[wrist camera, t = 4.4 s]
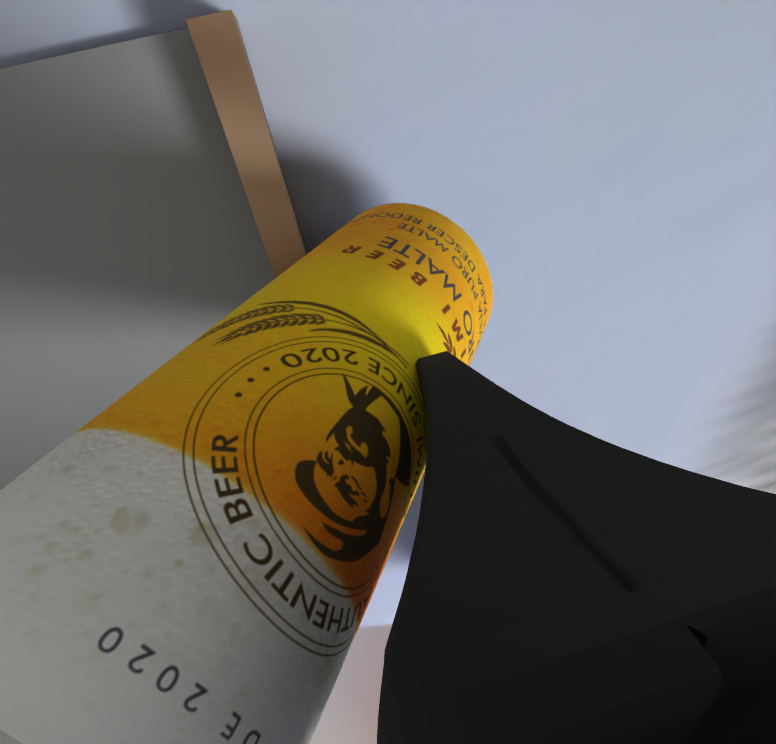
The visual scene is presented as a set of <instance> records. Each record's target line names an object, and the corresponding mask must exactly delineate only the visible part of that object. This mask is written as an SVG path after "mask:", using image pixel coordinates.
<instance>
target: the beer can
mask: <svg viewBox="0 0 776 744" xmlns="http://www.w3.org/2000/svg"><path fill="white" fill-rule="evenodd" d="M492 303H493V287H492V280H491V276H490V272H489V269H488V266H487V264H486V261H485V259H484V257H483V255H482V253H481V252H480V250H479V248H478V247H477V245H476V244H475V243H474V241H473V240H472V239H471V238H470V237H469V235H468V234H467V233H466V232H465V231H464V230H463V229H462V228H460V227H459V226H458V225H457V224H456V223H454V222H453V221H451V220H450V219H449V218H447V217H445V216H444V215H442V214H440V213H438V212H436V211H433V210H431V209H428V208H426V207H422V206H418V205H414V204H406V203H391V204H384V205H380V206H376V207H373V208H370V209H368V210H366V211H364V212H362V213H361V214H359V215H357V216H356V217H355V218H353V219H352V220H351V221H349V222H348V223H347V224H346V225H344V226H343V227H342V228H340V229H339V230H338V231H336V232H335V233H334V234H333V235H331V236H330V237H329V238H327V239H326V240H325V241H323V242H322V243H321V244H320V245H318V246H317V247H316V248H314V249H313V250H312V251H310V252H309V253H308V254H307V255H305V256H304V257H303V258H301V259H300V260H299V261H297V262H296V263H295V264H294V265H292V266H291V267H290V268H288V269H287V270H286V271H284V272H283V273H282V274H281V275H279V276H278V277H277V278H275V279H274V280H273V281H271V282H270V283H269V284H268V285H266V286H265V287H264V288H262V289H261V290H260V291H258V292H257V293H256V294H255V295H253V296H252V297H251V298H249V299H248V300H247V301H245V302H244V303H243V304H242V305H240V306H239V307H238V308H236V309H235V310H234V311H232V312H231V313H230V314H229V315H227V316H226V317H225V318H223V319H222V320H221V321H219V322H218V323H217V324H216V325H214V326H213V327H212V328H210V329H209V330H208V331H206V332H205V333H204V334H203V335H201V336H200V337H199V338H197V339H196V340H195V341H193V342H192V343H191V344H190V345H188V346H187V347H186V348H184V349H183V350H182V351H180V352H179V353H178V354H177V355H175V356H174V357H173V358H171V359H170V360H169V361H167V362H166V363H165V364H164V365H162V366H161V367H160V368H158V369H157V370H156V371H154V372H153V373H152V374H151V375H149V376H148V377H147V378H145V379H144V380H143V381H141V382H140V383H139V384H138V385H136V386H135V387H134V388H132V389H131V390H130V391H128V392H127V393H126V394H125V395H123V396H122V397H121V398H119V399H118V400H117V401H115V402H114V403H113V404H112V405H110V406H109V407H108V408H106V409H105V410H104V411H102V412H101V413H100V414H99V415H97V416H96V417H95V418H93V419H92V420H91V421H89V422H88V423H87V424H86V425H84V426H83V427H82V428H80V429H79V430H78V431H76V432H75V433H74V434H73V435H71V436H70V437H69V438H67V439H66V440H65V441H63V442H62V443H61V444H60V445H58V446H57V447H56V448H54V449H53V450H52V451H50V452H49V453H48V454H47V455H45V456H44V457H43V458H41V459H40V460H39V461H37V462H36V463H35V464H34V465H32V466H31V467H30V468H28V469H27V470H26V471H24V472H23V473H22V474H21V475H19V476H18V477H17V478H15V479H14V480H13V481H11V482H10V483H9V484H8V485H6V486H5V487H4V488H2V489H1V490H0V744H310V741H311V739H312V736H313V734H314V732H315V729H316V727H317V725H318V722H319V720H320V717H321V715H322V713H323V710H324V708H325V706H326V703H327V701H328V698H329V696H330V694H331V692H332V689H333V687H334V684H335V682H336V680H337V677H338V675H339V673H340V670H341V668H342V665H343V663H344V661H345V658H346V656H347V654H348V651H349V649H350V647H351V644H352V642H353V640H354V637H355V635H356V632H357V630H358V628H359V625H360V623H361V621H362V618H363V616H364V614H365V611H366V609H367V606H368V604H369V602H370V599H371V597H372V595H373V592H374V590H375V588H376V585H377V583H378V580H379V578H380V576H381V573H382V571H383V569H384V566H385V564H386V561H387V559H388V557H389V554H390V552H391V550H392V547H393V545H394V543H395V540H396V538H397V535H398V533H399V531H400V528H401V526H402V524H403V521H404V519H405V517H406V514H407V512H408V509H409V507H410V505H411V502H412V500H413V498H414V495H415V493H416V491H417V488H418V486H419V483H420V481H421V479H422V476H423V474H424V472H425V467H426V451H427V416H426V409H425V404H424V399H423V394H422V390H421V386H420V382H419V378H418V374H417V370H416V367H415V364H416V361H417V360H418V359H419V358H422V357H426V356H429V355H433V354H437V353H440V352H444V351H448V352H449V353H451V354H453V355H454V356H455V357H457V358H458V359H460V360H461V361H463V362H464V363H465V364H467V365H468V366H469V365H470V363H471V360H472V358H473V356H474V353H475V351H476V349H477V346H478V344H479V342H480V339H481V337H482V334H483V332H484V330H485V327H486V325H487V322H488V320H489V317H490V314H491V310H492Z"/></svg>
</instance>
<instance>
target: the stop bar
mask: <svg viewBox="0 0 776 744" xmlns="http://www.w3.org/2000/svg"><path fill="white" fill-rule="evenodd" d="M186 22H187V25H188V28H189V31H190V34H191V37H192V40H193V42H194V45H195V48H196V51H197V54H198V57H199V60H200V63H201V65H202V68H203V71H204V74H205V77H206V80H207V83H208V86H209V89H210V91H211V94H212V97H213V100H214V103H215V106H216V109H217V112H218V114H219V117H220V120H221V123H222V126H223V129H224V132H225V135H226V137H227V140H228V143H229V146H230V149H231V152H232V155H233V158H234V161H235V163H236V166H237V169H238V172H239V175H240V178H241V181H242V184H243V186H244V189H245V192H246V195H247V198H248V201H249V204H250V207H251V210H252V212H253V215H254V218H255V221H256V224H257V227H258V230H259V233H260V235H261V238H262V241H263V244H264V247H265V250H266V253H267V256H268V259H269V261H270V264H271V267H272V270H273V273H274V276H275V278H277V277H278V276H279V275H281V274H282V273H283V272H284V271H286V270H287V269H288V268H290V267H291V266H292V265H294V264H295V263H296V262H297V261H299V260H300V259H301V258H303V257H304V256H305V255H307V254H306V250H305V247H304V244H303V240H302V237H301V234H300V230H299V227H298V223H297V220H296V217H295V213H294V210H293V207H292V203H291V200H290V197H289V193H288V190H287V187H286V183H285V180H284V176H283V173H282V170H281V166H280V163H279V160H278V156H277V153H276V150H275V146H274V143H273V140H272V136H271V133H270V129H269V126H268V123H267V119H266V116H265V113H264V109H263V106H262V103H261V99H260V96H259V93H258V89H257V86H256V83H255V79H254V76H253V72H252V69H251V66H250V62H249V59H248V56H247V52H246V49H245V46H244V42H243V39H242V36H241V32H240V29H239V25H238V22H237V19H236V17H235V16H234V14H233V12H232V11H231V10H227V11H222V12H218V13H213V14H209V15H204V16H199V17H195V18H190V19H186Z"/></svg>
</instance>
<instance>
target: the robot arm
mask: <svg viewBox="0 0 776 744" xmlns="http://www.w3.org/2000/svg"><path fill="white" fill-rule="evenodd" d="M415 367H416V370H417V374H418V378H419V382H420V386H421V390H422V394H423V399H424V404H425V409H426V416H427V451H426V467H425V477H424V487H423V494H422V501H421V508H420V514H419V520H418V526H417V531H416V536H415V541H414V545H413V549H412V554H411V558H410V562H409V567H408V571H407V575H406V580H405V583H404V587H403V591H402V595H401V598H400V601H399V605H398V608H397V611H396V615H395V618H394V621H393V625H392V628H391V631H390V634H389V638H388V641H387V644H386V648H385V655H384V668H383V677H382V684H381V693H380V704H379V715H378V730H377V744H776V494H772V493H768V492H764V491H759V490H755V489H751V488H747V487H743V486H739V485H736V484H732V483H729V482H725V481H722V480H718V479H715V478H711V477H708V476H704V475H701V474H697V473H694V472H691V471H687V470H684V469H681V468H678V467H675V466H672V465H669V464H665V463H662V462H660V461H657V460H654V459H651V458H648V457H646V456H643V455H640V454H637V453H635V452H632V451H629V450H626V449H623V448H621V447H618V446H616V445H613V444H611V443H608V442H606V441H603V440H601V439H599V438H596V437H594V436H592V435H590V434H587V433H585V432H583V431H581V430H578V429H576V428H574V427H572V426H569V425H567V424H565V423H563V422H561V421H559V420H557V419H555V418H553V417H551V416H549V415H547V414H546V413H544V412H542V411H540V410H538V409H536V408H534V407H533V406H531V405H529V404H527V403H526V402H524V401H522V400H520V399H519V398H517V397H516V396H514V395H512V394H511V393H509V392H508V391H506V390H504V389H503V388H501V387H499V386H498V385H496V384H495V383H493V382H492V381H490V380H489V379H487V378H486V377H484V376H483V375H481V374H480V373H478V372H477V371H475V370H474V369H473V368H471V367H470V366H468V365H467V364H465V363H464V362H463V361H461V360H460V359H458V358H457V357H455V356H454V355H453V354H451V353H449V352H448V351H444V352H440V353H437V354H433V355H429V356H426V357H422V358H419V359H418V360H417V361H416V364H415Z"/></svg>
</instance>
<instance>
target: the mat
mask: <svg viewBox="0 0 776 744" xmlns="http://www.w3.org/2000/svg"><path fill="white" fill-rule="evenodd" d="M274 279H275V276H274V273H273V270H272V267H271V264H270V261H269V259H268V256H267V253H266V250H265V247H264V244H263V241H262V238H261V235H260V233H259V230H258V227H257V224H256V221H255V218H254V215H253V212H252V210H251V207H250V204H249V201H248V198H247V195H246V192H245V189H244V186H243V184H242V181H241V178H240V175H239V172H238V169H237V166H236V163H235V161H234V158H233V155H232V152H231V149H230V146H229V143H228V140H227V137H226V135H225V132H224V129H223V126H222V123H221V120H220V117H219V114H218V112H217V109H216V106H215V103H214V100H213V97H212V94H211V91H210V89H209V86H208V83H207V80H206V77H205V74H204V71H203V68H202V65H201V63H200V60H199V57H198V54H197V51H196V48H195V45H194V42H193V40H192V37H191V34H190V31H189V28H183V29H179V30H174V31H170V32H165V33H161V34H156V35H151V36H147V37H142V38H138V39H133V40H129V41H124V42H119V43H115V44H110V45H106V46H101V47H97V48H92V49H87V50H83V51H78V52H74V53H69V54H65V55H60V56H55V57H51V58H46V59H42V60H37V61H33V62H28V63H23V64H19V65H14V66H10V67H5V68H1V69H0V490H1V489H2V488H4V487H5V486H6V485H8V484H9V483H10V482H11V481H13V480H14V479H15V478H17V477H18V476H19V475H21V474H22V473H23V472H24V471H26V470H27V469H28V468H30V467H31V466H32V465H34V464H35V463H36V462H37V461H39V460H40V459H41V458H43V457H44V456H45V455H47V454H48V453H49V452H50V451H52V450H53V449H54V448H56V447H57V446H58V445H60V444H61V443H62V442H63V441H65V440H66V439H67V438H69V437H70V436H71V435H73V434H74V433H75V432H76V431H78V430H79V429H80V428H82V427H83V426H84V425H86V424H87V423H88V422H89V421H91V420H92V419H93V418H95V417H96V416H97V415H99V414H100V413H101V412H102V411H104V410H105V409H106V408H108V407H109V406H110V405H112V404H113V403H114V402H115V401H117V400H118V399H119V398H121V397H122V396H123V395H125V394H126V393H127V392H128V391H130V390H131V389H132V388H134V387H135V386H136V385H138V384H139V383H140V382H141V381H143V380H144V379H145V378H147V377H148V376H149V375H151V374H152V373H153V372H154V371H156V370H157V369H158V368H160V367H161V366H162V365H164V364H165V363H166V362H167V361H169V360H170V359H171V358H173V357H174V356H175V355H177V354H178V353H179V352H180V351H182V350H183V349H184V348H186V347H187V346H188V345H190V344H191V343H192V342H193V341H195V340H196V339H197V338H199V337H200V336H201V335H203V334H204V333H205V332H206V331H208V330H209V329H210V328H212V327H213V326H214V325H216V324H217V323H218V322H219V321H221V320H222V319H223V318H225V317H226V316H227V315H229V314H230V313H231V312H232V311H234V310H235V309H236V308H238V307H239V306H240V305H242V304H243V303H244V302H245V301H247V300H248V299H249V298H251V297H252V296H253V295H255V294H256V293H257V292H258V291H260V290H261V289H262V288H264V287H265V286H266V285H268V284H269V283H270V282H271V281H273V280H274Z"/></svg>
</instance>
